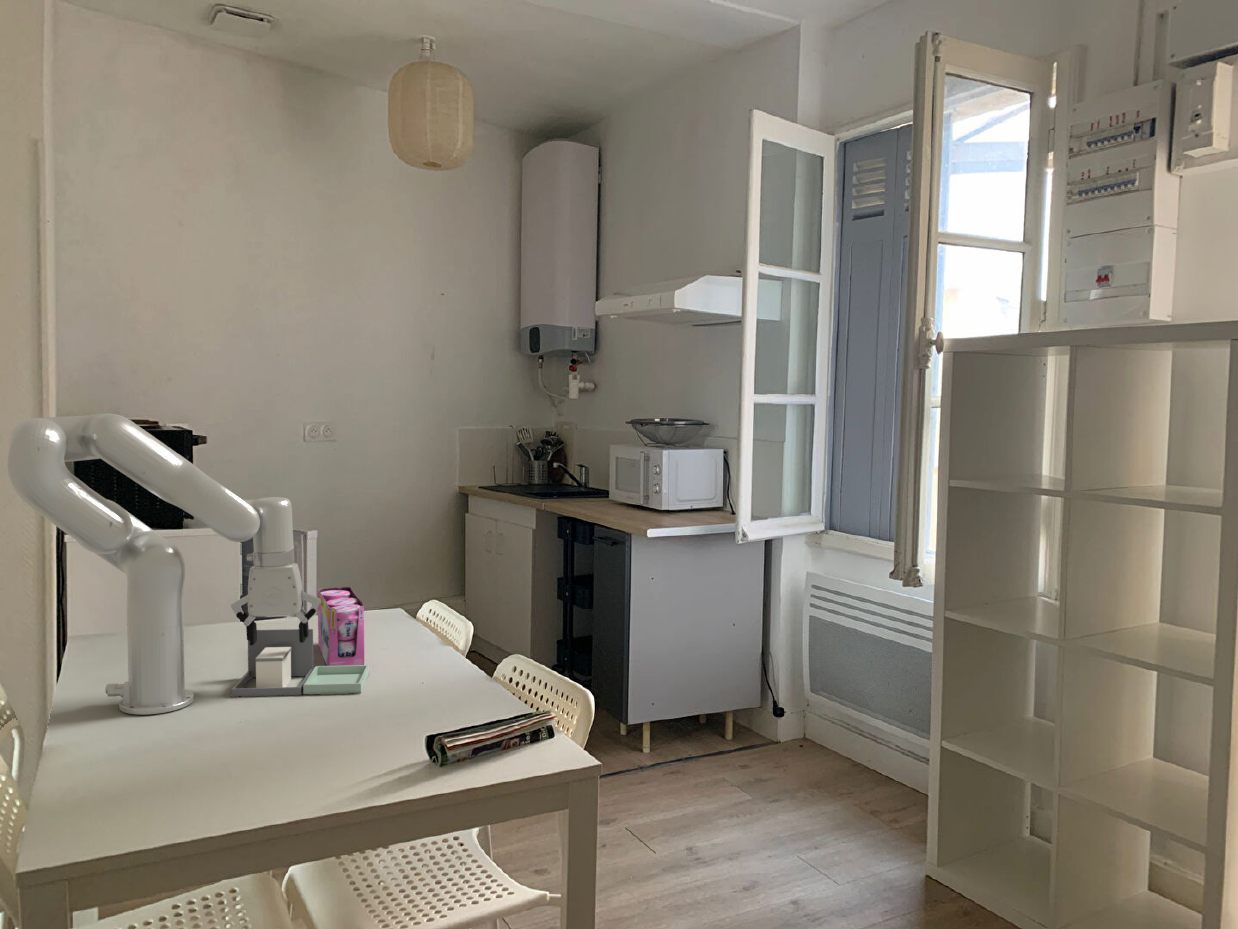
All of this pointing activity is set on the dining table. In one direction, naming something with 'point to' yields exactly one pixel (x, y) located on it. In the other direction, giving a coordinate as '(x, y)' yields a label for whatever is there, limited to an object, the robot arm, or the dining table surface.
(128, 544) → the robot arm
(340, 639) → the gum box
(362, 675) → the tray
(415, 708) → the dining table surface
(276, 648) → the cream upright block
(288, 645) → the holder
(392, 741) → the dining table surface
